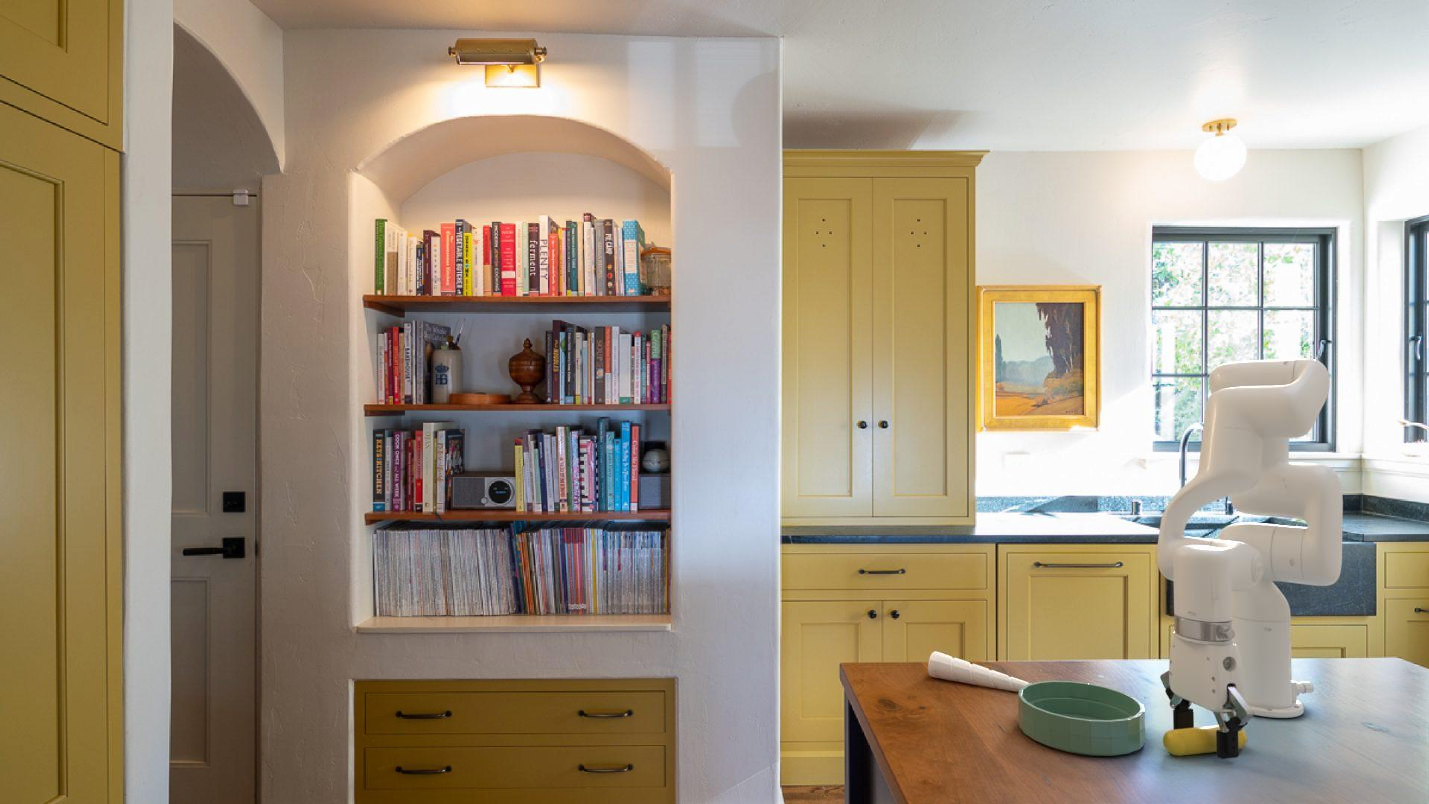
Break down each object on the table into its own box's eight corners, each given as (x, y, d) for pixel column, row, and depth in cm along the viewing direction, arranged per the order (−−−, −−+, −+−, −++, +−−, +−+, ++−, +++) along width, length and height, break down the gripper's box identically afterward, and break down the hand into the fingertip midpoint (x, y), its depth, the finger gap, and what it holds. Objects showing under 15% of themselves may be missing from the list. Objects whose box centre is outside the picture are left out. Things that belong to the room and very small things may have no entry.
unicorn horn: (1054, 705, 141) (1053, 677, 141) (925, 679, 156) (925, 654, 156) (1061, 697, 145) (1061, 670, 145) (935, 672, 160) (935, 648, 160)
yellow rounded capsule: (1233, 742, 125) (1233, 719, 125) (1253, 752, 121) (1252, 728, 121) (1157, 751, 122) (1156, 727, 122) (1175, 761, 118) (1174, 736, 118)
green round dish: (1092, 709, 139) (1092, 677, 139) (1172, 752, 121) (1172, 715, 122) (997, 718, 136) (996, 685, 136) (1065, 764, 118) (1064, 726, 118)
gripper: (1274, 643, 114) (1276, 768, 114) (1180, 613, 131) (1181, 722, 131) (1229, 646, 113) (1231, 773, 112) (1139, 616, 130) (1141, 726, 129)
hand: (1204, 745), depth 122 cm, fingers open, 7 cm apart
